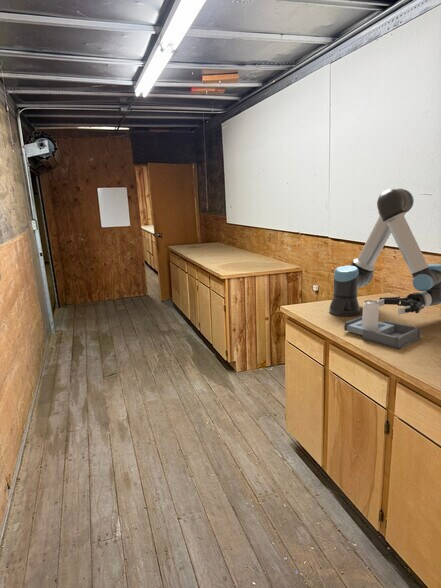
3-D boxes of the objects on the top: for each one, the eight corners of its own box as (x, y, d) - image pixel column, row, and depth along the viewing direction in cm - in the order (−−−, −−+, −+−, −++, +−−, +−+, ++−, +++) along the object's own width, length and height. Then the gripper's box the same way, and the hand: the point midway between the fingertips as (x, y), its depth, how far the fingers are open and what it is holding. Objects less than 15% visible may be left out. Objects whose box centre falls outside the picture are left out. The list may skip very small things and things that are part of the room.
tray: (344, 330, 172) (344, 322, 171) (363, 322, 181) (363, 315, 180) (375, 339, 161) (376, 330, 160) (394, 330, 169) (395, 322, 168)
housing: (361, 339, 164) (362, 329, 163) (384, 329, 174) (385, 320, 173) (398, 349, 152) (399, 338, 151) (420, 338, 162) (421, 328, 161)
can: (359, 326, 173) (361, 300, 171) (374, 325, 173) (376, 299, 170) (364, 331, 167) (366, 304, 164) (379, 330, 167) (381, 303, 164)
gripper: (443, 314, 170) (409, 323, 161) (394, 302, 192) (363, 309, 183) (444, 298, 168) (411, 305, 159) (395, 287, 190) (363, 293, 181)
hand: (385, 307), depth 171 cm, fingers open, 13 cm apart
